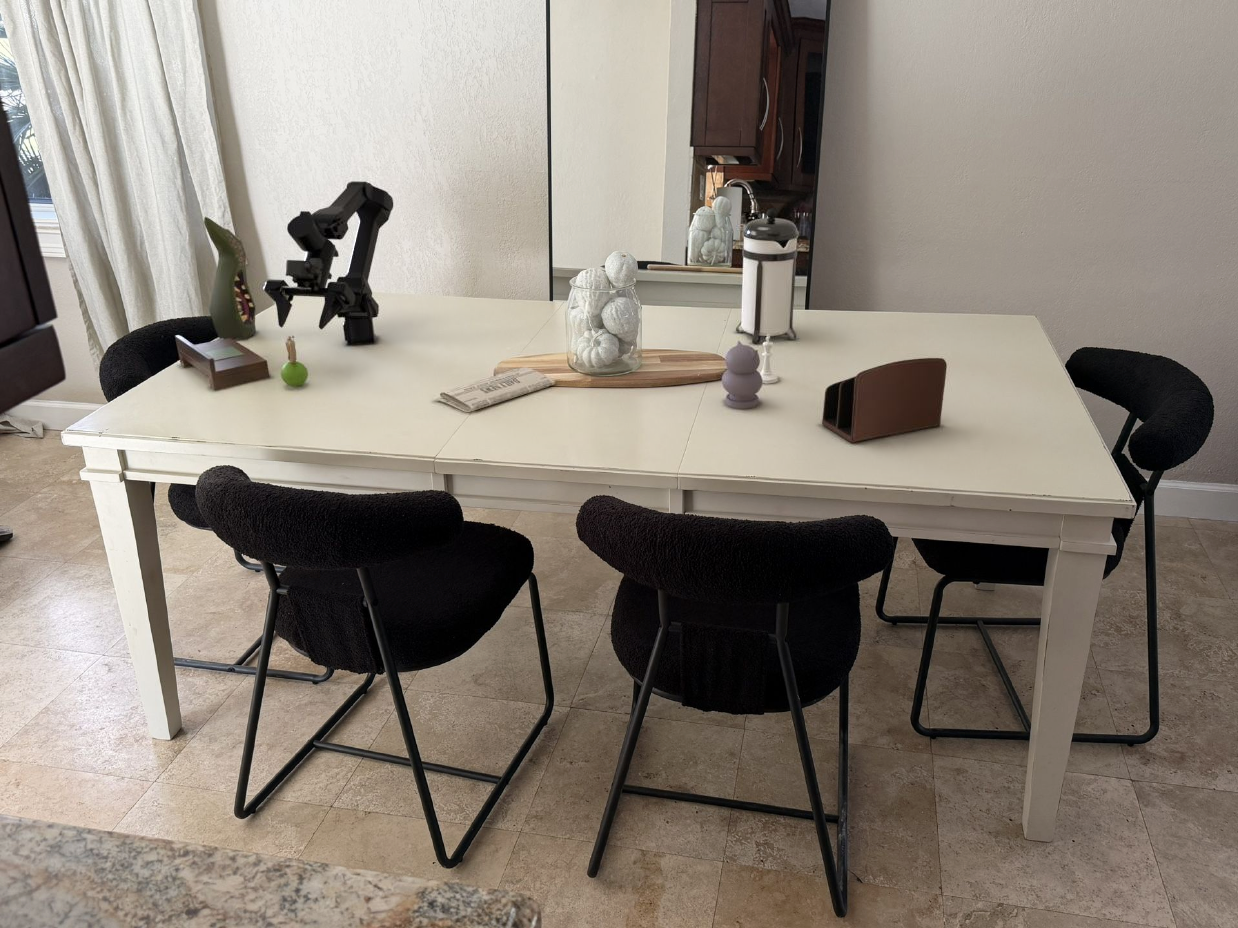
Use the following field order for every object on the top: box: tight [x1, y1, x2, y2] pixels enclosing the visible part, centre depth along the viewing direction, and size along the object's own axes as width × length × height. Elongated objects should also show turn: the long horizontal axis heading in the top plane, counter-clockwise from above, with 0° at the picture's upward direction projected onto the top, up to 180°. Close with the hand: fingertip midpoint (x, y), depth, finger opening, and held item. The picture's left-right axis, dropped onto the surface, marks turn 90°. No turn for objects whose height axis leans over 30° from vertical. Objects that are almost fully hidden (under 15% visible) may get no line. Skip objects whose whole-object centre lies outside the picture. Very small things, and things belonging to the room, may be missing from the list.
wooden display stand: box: [174, 334, 271, 391], centre depth 223 cm, size 12×22×7 cm, turn 39°
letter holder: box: [821, 357, 948, 444], centre depth 187 cm, size 10×20×14 cm, turn 113°
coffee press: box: [735, 208, 800, 345], centre depth 237 cm, size 17×16×30 cm
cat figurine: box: [721, 340, 764, 410], centre depth 199 cm, size 8×8×12 cm
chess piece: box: [759, 334, 779, 385], centre depth 212 cm, size 5×5×10 cm
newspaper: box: [435, 366, 556, 413], centre depth 209 cm, size 23×12×2 cm, turn 135°
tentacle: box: [203, 216, 257, 340], centre depth 243 cm, size 9×12×30 cm
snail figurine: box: [280, 335, 309, 388], centre depth 212 cm, size 5×6×12 cm
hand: (300, 327), depth 215 cm, fingers open, 9 cm apart
